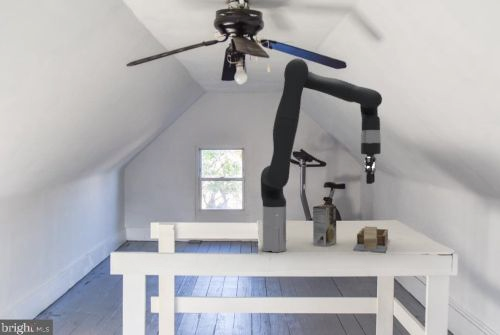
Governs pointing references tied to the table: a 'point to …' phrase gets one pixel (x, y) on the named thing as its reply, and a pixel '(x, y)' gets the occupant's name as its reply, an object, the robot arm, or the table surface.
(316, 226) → the coffee box
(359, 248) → the slate mat
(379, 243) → the walnut surround
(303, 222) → the table surface
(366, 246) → the oak block
